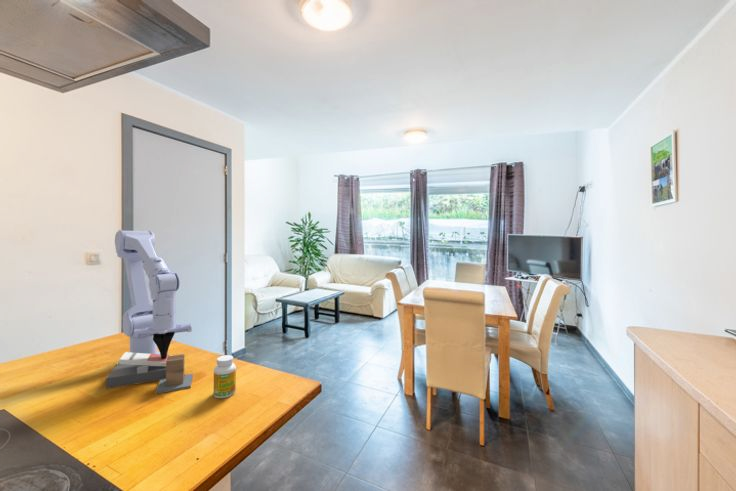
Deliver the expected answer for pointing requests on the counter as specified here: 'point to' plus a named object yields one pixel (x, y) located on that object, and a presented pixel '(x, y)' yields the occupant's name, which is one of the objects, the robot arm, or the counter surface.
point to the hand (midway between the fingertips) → (164, 357)
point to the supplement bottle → (224, 377)
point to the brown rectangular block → (175, 370)
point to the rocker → (142, 359)
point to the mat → (163, 388)
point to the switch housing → (134, 374)
